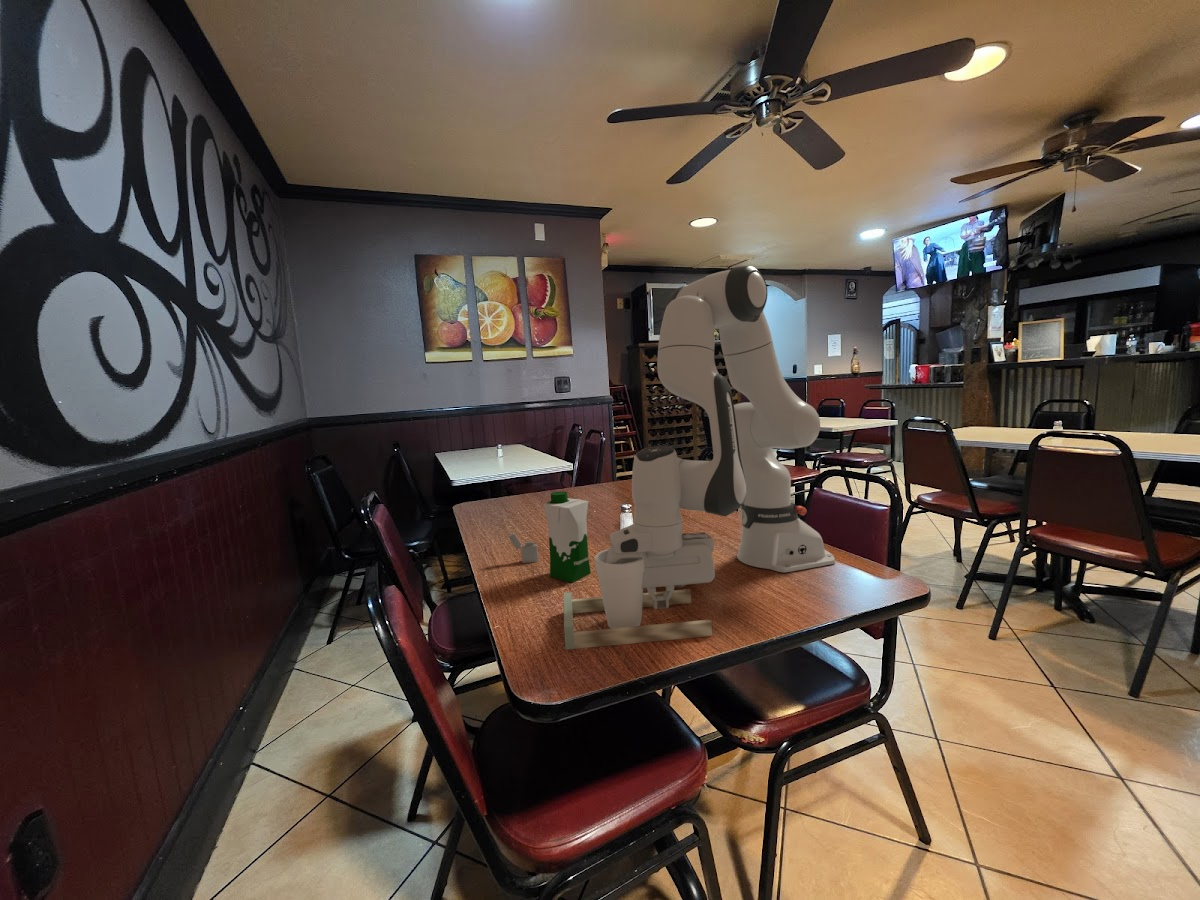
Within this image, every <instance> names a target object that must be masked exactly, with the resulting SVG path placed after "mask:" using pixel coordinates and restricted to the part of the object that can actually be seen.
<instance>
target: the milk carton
mask: <svg viewBox="0 0 1200 900" xmlns="http://www.w3.org/2000/svg"><path fill="white" fill-rule="evenodd" d="M588 507H589V500H583V499H580V498H568V492H567V491H554V492H551V493H550V501H548V502H546V503H544V504H543V509H544V513H545V516H546V520H547V530H548V531H547V533H548V547H549V577H550V578H552V579H556V580H561V581H564V582H567V583H572V584H573V583H574V582H577V581H578V580H580V579H582V578H584V577H585V576H587V575H588V576H589V575H590V574H591V573H592V572H591V565H590V559H589V548H588V547H589V543H588V530H587V528H588V526H587V515H588V509H589V508H588Z"/></svg>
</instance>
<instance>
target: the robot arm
mask: <svg viewBox="0 0 1200 900" xmlns="http://www.w3.org/2000/svg"><path fill="white" fill-rule="evenodd" d="M765 279H766V278H765V277H764V275H763V273H762V272H761V271H759V270H758V269H757V268H756V267H754V266H752V265H741V266H740V265H739V266H734V267H732V268H730V269H727V270H722V271H718V272H715V273H711V274H708V275H705V276H704V277H701V278H700V279H698V280H695V281H693V282H691V283H688V284H685V285H682V286H680V287H678V288H677V289H675V290H674V291H673V292H672V293H670V295H669V297H668V299H667V303H666V307H665V311H664V312H663V317H662V321H661V326H660V329H659V330H660V333H659V337H658V338H659V340H658V346H657V347H658V348H657V360H656V361H657V362H656V364H657V365H656V366H657V370H656V371H657V375H658V380H659V381H660V383H661V384H662V386H663V387H664V388H665V389H666V390H667V391H668V392H670V394H673V395H674V396H676V397H679V398H681V399H683V400H686V401H689V402H692V403H694V404H696V405H698V406H699V407H701V408H702V409H703V410H704V411H705V412H706V414H707V416H708V419H709V427H710V435H711V436H710V437H711V444H712V446H711V447H712V451H713V452H712V453H713V458H712V459H711V460H699V459H698V460H695V459H694V460H693V459H692V460H691V459H683V458H681V457H678V454H677V452H676V449H675V448H674V447H671V446H667V445H655V446H654V445H652V446H650V447H645V448H642V449H641V450H639V451H638V452H636V454H635V455H634V459H633V462H632V470H631V471H632V473H631V474H632V475H631V496H632V497H631V498H632V502H633V504H634V513H633V524H630V525H628V526H626V527H623V528H621V529H618V530H616V531H613V532H611V533H610V537H609V543H610V547H609V548H608V549H609V550H608V552H607V556H606V563H609V564H625V563H631V562H634V561H636V560H639V559H644V572H643V577H642V588H644V589H646V591H647V593H649V595H650V596H651V598H652V599H653V606H652V608H653V609H654V610H660V609H669V606H670V605H669V599H670V597H671V596H672V594H673V592H674V590H675V588H674V586H675V585H685V586H687V585H694V584H698V585H699V584H708V583H711V582H712V581H713V580H714V579H715V577H716V575H715V572H716V571H715V570H716V569H715V564H714V558H713V552H714V549H715V548H714V547H715V546H714V539H713V537H712V536H711V535H710V534H708V533H706V532H704V531H700V532H688V533H687V532H686V533H685V532H684V533H683V517H682V514H681V509H682V510H688V511H698V512H702V513H703V512H705V513H707V514H712V515H716V516H720V517H721V516H722V517H728V516H730V515H731V514H733V513H734V512H736V511H737V510H738V509H741V510H740V521H741V526H742V530H741V538H740V544H739V549H738V552H737V555H736V557H737V559H738V561H740V562H741V563H743V564H745V565H748V566H751V567H755V568H760V569H765V570H766V569H767V570H772V571H775V572H779V573H790V572H795V571H801V570H806V569H807V570H808V569H812V568H813V569H814V568H819V567H824V566H830V565H834V564H836V559H835V556H834V555H833V554H832V553H831V552H829V551H828V550H826V549H825V545H824V540H823V538H822V536H821V534H820V533H819V532H818V531H817V530H815V529H814V528H812V526H810V525H808V523H806V522H805V521H803V519H800V518H799V516H798V515H800V516H805V515H806V514H807V511H808V510H807V509H806V507H804V506H802V505H795V504H794V503H792V499H791V498H792V496H791V493H792V491H791V485H792V484H791V483H792V481H791V480H792V479H791V474H790V471H789V469H788V468H787V467H786V466H785V465H784V464H782V463H781V462H780V461H779V460H778V459H777V458H776V456H775V454H774V452H773V449H781V450H782V449H783V450H793V449H799V448H800V449H801V448H807V447H809V446H811V445H812V444H813V443H814V442H815V441H816V439H817V438H818V436H819V433H820V431H821V419H820V415H819V413H818V412H817V410H816V408H814V407H813V406H812V405H810V404H809V403H807V402H806V401H804V400H802V399H801V398H800V397H799V396H798V395H796V393H795V392H794V390H792V389H791V387H790V386H789V384H788V383H787V381H786V380H785V378H784V376H783V373H782V371H781V369H780V366H779V362H778V359H777V355H776V350H775V346H774V342H773V337H772V334H771V330H770V327H769V323H768V321H767V318H766V315H765V313H764V309H765V307H766V304H767V300H768V286H767V281H766V280H765ZM715 330H718V333H719V340H720V341H719V342H720V347H721V351H722V355H723V359H724V362H725V367H726V370H727V375H728V378H729V381H728V379H727V378H726V377H725V376H723V375H721V374H720V373H719V371H718V369H717V366H716V361H715V347H716V346H715V343H716V341H715ZM729 383H730V384H729ZM730 385H731V386H732V388H734V390H736V391H737V392H739V393H741V394H742V395H743V396H745V397H746V398H747V399H748V400H749V402H741V403H735V404H734V398H733V394H732V389H731V386H730ZM686 584H687V585H686ZM660 587H661V588H662V587H664V588H665V590H664V591H665V593H664V595H663V596H657V597H656V596H655V594H654V593H653V592H657V590H656V589H657V588H660Z"/></svg>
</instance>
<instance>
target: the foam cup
mask: <svg viewBox="0 0 1200 900" xmlns="http://www.w3.org/2000/svg"><path fill="white" fill-rule="evenodd" d="M609 549H610V548H606V549H605V550H602V551H599V552H597V553H596V554H595V555H594V566H595V567H594V568H595V573H596V574H597V578H598V584H599V588H600V593H601V597H602V599H603V604H604V609H605V611H604V612H605V618H606V622H607V623H606V624H607V626H608V627H609V629H612V628H623V627H634V626H641V624H642V616H643V615H642V614H643V607H642V605H643V593H645V592H644V589H645V588H642V577H643V572H644V559H639V560H636V561H634V562H631V563H625V564H609V563H606V556H607V552H608V550H609Z"/></svg>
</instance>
